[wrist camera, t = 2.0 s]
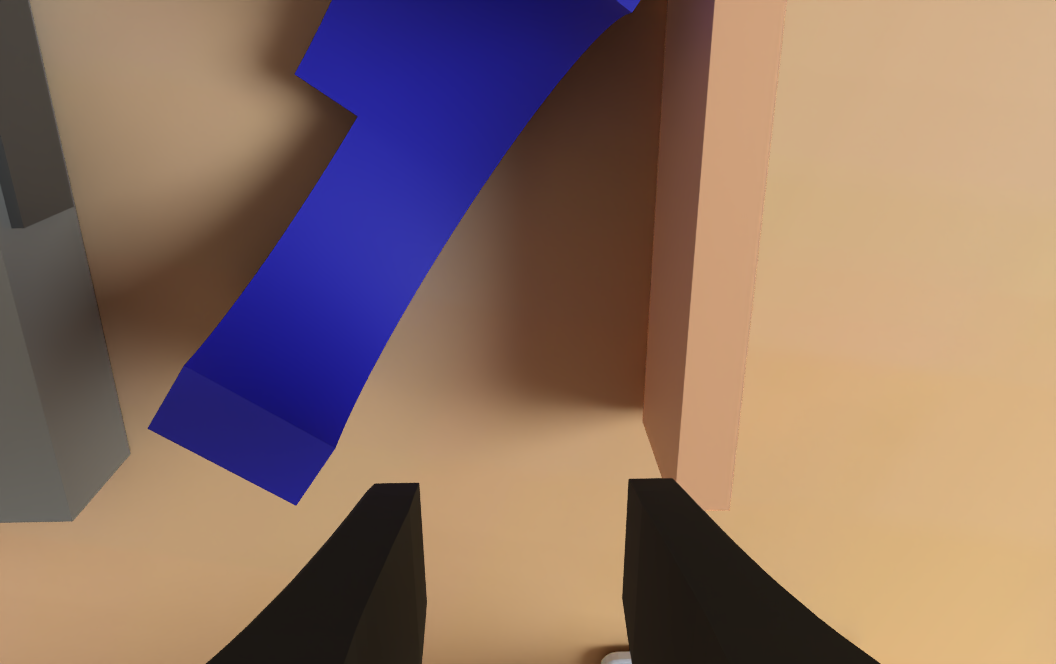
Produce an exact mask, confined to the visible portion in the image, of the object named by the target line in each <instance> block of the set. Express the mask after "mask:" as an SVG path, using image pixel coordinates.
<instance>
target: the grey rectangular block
mask: <svg viewBox="0 0 1056 664" xmlns="http://www.w3.org/2000/svg"><path fill="white" fill-rule="evenodd" d="M129 455H130V450H129V445H128V441H127V436H126V432H125V427H124V423H123V418H122V414H121V409H120V405H119V400H118V396H117V392H116V387H115V383H114V378H113V374H112V369H111V365H110V360H109V356H108V351H107V347H106V342H105V338H104V333H103V329H102V324H101V320H100V315H99V311H98V306H97V302H96V297H95V293H94V288H93V284H92V279H91V275H90V270H89V266H88V261H87V257H86V253H85V248H84V244H83V239H82V235H81V230H80V226H79V221H78V217H77V212H76V208H75V203H74V199H73V194H72V190H71V185H70V181H69V176H68V172H67V167H66V163H65V158H64V154H63V149H62V145H61V140H60V136H59V131H58V127H57V122H56V118H55V114H54V109H53V105H52V100H51V96H50V91H49V87H48V82H47V78H46V73H45V69H44V64H43V60H42V55H41V51H40V46H39V42H38V37H37V33H36V28H35V24H34V19H33V15H32V10H31V6H30V1H29V0H0V523H12V522H63V521H73V520H74V519H75V518H76V517H77V516H78V515H79V513H80V512H81V511H82V510H83V509H84V508H85V506H86V505H87V504H88V503H89V502H90V501H91V499H92V498H93V497H94V496H95V495H96V494H97V492H98V491H99V490H100V489H101V488H102V487H103V485H104V484H105V483H106V482H107V481H108V480H109V478H110V477H111V476H112V475H113V474H114V473H115V471H116V470H117V469H118V468H119V467H120V466H121V464H122V463H123V462H124V461H125V460H126V459H127V457H128V456H129Z"/></svg>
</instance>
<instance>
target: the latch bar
mask: <svg viewBox="0 0 1056 664" xmlns="http://www.w3.org/2000/svg"><path fill="white" fill-rule="evenodd" d="M786 4H787V0H668V2H667V19H666V36H665V52H664V69H663V86H662V103H661V120H660V137H659V154H658V170H657V187H656V204H655V221H654V238H653V255H652V271H651V288H650V305H649V322H648V339H647V356H646V372H645V389H644V406H643V424H644V427H645V430H646V433H647V436H648V438H649V441H650V444H651V447H652V450H653V453H654V456H655V459H656V462H657V464H658V467H659V470H660V473H661V476H662V478H673V479H674V480H675V481H676V482H677V483H678V484H679V485H680V486H681V487H682V488H683V489H684V490H685V491H686V492H687V493H688V494H689V495H690V497H691V498H692V499H693V500H694V501H695V502H696V503H697V504H698V505H699V506H700V507H701V508H702V509H703V510H704V511H725V510H730V503H731V494H732V486H733V477H734V468H735V459H736V450H737V441H738V432H739V423H740V414H741V405H742V396H743V388H744V379H745V370H746V361H747V352H748V343H749V334H750V325H751V316H752V307H753V298H754V289H755V281H756V272H757V263H758V254H759V245H760V236H761V227H762V218H763V209H764V200H765V191H766V183H767V174H768V165H769V156H770V147H771V138H772V129H773V120H774V111H775V102H776V93H777V84H778V76H779V67H780V58H781V49H782V40H783V31H784V22H785V13H786Z"/></svg>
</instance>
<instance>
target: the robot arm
mask: <svg viewBox="0 0 1056 664" xmlns="http://www.w3.org/2000/svg"><path fill="white" fill-rule="evenodd" d="M622 599H623V606H624V614H625V621H626V628H627V635H628V642H629V649H630V651H627V652H613V653H610V654H608V655H606V656H605V657H604V658H603V659H602V661H601V664H880V663H879V662H877V661H876V660H875V659H873V658H872V657H871V656H869V655H868V654H866V653H865V652H864V651H862V650H861V649H860V648H858V647H857V646H855V645H854V644H853V643H851V642H850V641H848V640H847V639H846V638H844V637H843V636H842V635H840V634H839V633H838V632H836V631H835V630H834V629H832V628H831V627H830V626H829V625H827V624H826V623H825V622H824V621H822V620H821V619H820V618H818V617H817V616H816V615H815V614H814V613H812V612H811V611H810V610H809V609H808V608H807V607H805V606H804V605H803V604H802V603H801V602H799V601H798V600H797V599H796V598H795V597H794V596H792V595H791V594H790V593H789V592H788V591H786V590H785V589H784V588H783V587H782V586H781V585H779V584H778V583H777V582H776V581H775V580H774V579H773V578H772V577H771V576H769V575H768V574H767V573H766V572H765V571H764V570H763V569H762V568H761V567H760V566H759V565H758V564H757V563H756V562H755V561H754V560H752V559H751V558H750V557H749V556H748V555H747V554H746V553H745V552H744V551H743V550H742V549H741V548H740V547H739V546H738V545H737V544H736V543H735V542H734V541H733V540H732V539H731V538H730V537H729V536H728V535H727V534H726V533H725V532H724V531H723V530H722V529H721V528H720V527H719V526H718V525H717V524H716V523H715V522H714V521H713V520H712V519H711V518H710V517H709V515H708V514H707V513H706V512H705V511H704V510H703V509H702V508H701V507H700V506H699V505H698V504H697V503H696V502H695V501H694V500H693V499H692V498H691V497H690V495H689V494H688V493H687V492H686V491H685V490H684V489H683V488H682V487H681V486H680V485H679V484H678V483H677V482H676V481H675V480H674V479H673V478H651V479H629V482H628V501H627V520H626V538H625V557H624V576H623V594H622ZM426 607H427V597H426V581H425V566H424V550H423V534H422V519H421V503H420V488H419V483H382V484H374V485H373V486H372V487H371V488H370V489H369V490H368V491H367V492H366V493H365V494H364V496H363V497H362V498H361V499H360V501H359V502H358V503H357V505H356V506H355V507H354V508H353V510H352V511H351V512H350V513H349V515H348V516H347V517H346V518H345V520H344V521H343V522H342V523H341V525H340V526H339V527H338V528H337V529H336V531H335V532H334V533H333V534H332V536H331V537H330V538H329V539H328V540H327V542H326V543H325V544H324V545H323V546H322V547H321V548H320V550H319V551H318V552H317V553H316V554H315V555H314V556H313V558H312V559H311V560H310V561H309V562H308V563H307V564H306V565H305V567H304V568H303V569H302V570H301V571H300V572H299V573H298V575H297V576H296V577H295V578H294V579H293V580H292V581H291V582H290V583H289V584H288V585H287V586H286V587H285V588H284V589H283V590H282V592H281V593H280V594H279V595H278V596H277V597H276V598H275V599H274V600H273V601H272V602H271V603H270V604H269V605H268V606H267V607H266V608H265V609H264V610H263V611H262V612H261V613H260V614H259V615H258V616H257V617H256V618H255V619H254V620H253V621H252V622H251V623H250V624H249V625H248V626H247V627H246V628H245V629H244V630H243V631H242V632H240V633H239V634H238V635H237V636H236V637H235V638H234V639H233V640H232V641H231V642H230V643H229V644H228V645H227V646H225V647H224V648H223V649H222V650H221V651H220V652H219V653H218V654H216V655H215V656H214V657H213V658H212V659H211V660H210V661H208V662H207V663H206V664H422V655H423V644H424V632H425V619H426Z"/></svg>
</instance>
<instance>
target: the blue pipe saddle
mask: <svg viewBox="0 0 1056 664" xmlns="http://www.w3.org/2000/svg"><path fill="white" fill-rule="evenodd" d="M639 2H640V0H332V1H331V3H330V5H329V7H328V9H327V12H326V14H325V16H324V18H323V20H322V22H321V24H320V26H319V28H318V30H317V32H316V34H315V36H314V38H313V40H312V42H311V44H310V46H309V48H308V50H307V52H306V54H305V56H304V57H303V59H302V61H301V63H300V65H299V67H298V69H297V71H296V72H295V75H296V76H298V77H299V78H301V79H302V80H304V81H305V82H307V83H308V84H310V85H311V86H313V87H314V88H316V89H317V90H319V91H320V92H322V93H323V94H325V95H326V96H328V97H329V98H331V99H332V100H334V101H335V102H337V103H338V104H340V105H341V106H343V107H344V108H346V109H347V110H349V111H350V112H352V113H353V114H355V115H356V116H358V117H357V119H356V120H355V122H354V124H353V125H352V127H351V129H350V130H349V132H348V134H347V135H346V137H345V139H344V140H343V142H342V144H341V145H340V147H339V148H338V150H337V152H336V153H335V155H334V157H333V158H332V160H331V161H330V163H329V165H328V166H327V168H326V169H325V171H324V173H323V174H322V176H321V177H320V179H319V181H318V182H317V184H316V185H315V187H314V188H313V190H312V192H311V193H310V195H309V196H308V198H307V199H306V201H305V202H304V204H303V205H302V207H301V209H300V210H299V212H298V213H297V215H296V216H295V218H294V219H293V221H292V222H291V224H290V225H289V227H288V228H287V230H286V231H285V233H284V234H283V236H282V237H281V239H280V240H279V242H278V243H277V244H276V246H275V247H274V249H273V250H272V252H271V253H270V255H269V256H268V258H267V259H266V260H265V262H264V263H263V265H262V266H261V267H260V269H259V270H258V272H257V273H256V275H255V276H254V277H253V279H252V280H251V282H250V283H249V284H248V286H247V287H246V288H245V290H244V291H243V293H242V294H241V295H240V297H239V298H238V299H237V301H236V302H235V303H234V305H233V306H232V307H231V309H230V310H229V311H228V313H227V314H226V315H225V317H224V318H223V319H222V320H221V322H220V323H219V324H218V326H217V327H216V328H215V329H214V331H213V332H212V333H211V334H210V336H209V337H208V338H207V339H206V341H205V342H204V343H203V344H202V345H201V347H200V348H199V349H198V350H197V351H196V353H195V354H194V355H193V356H192V357H191V358H190V359H189V361H188V362H187V363H186V364H185V365H184V366H183V368H182V370H181V372H180V373H179V375H178V377H177V379H176V380H175V382H174V384H173V385H172V387H171V389H170V391H169V392H168V394H167V396H166V398H165V399H164V401H163V403H162V405H161V406H160V408H159V410H158V411H157V413H156V415H155V417H154V418H153V420H152V422H151V424H150V425H149V427H148V429H149V430H151V431H153V432H155V433H157V434H159V435H161V436H163V437H165V438H167V439H169V440H171V441H173V442H174V443H176V444H178V445H180V446H182V447H184V448H186V449H188V450H190V451H192V452H194V453H196V454H198V455H200V456H201V457H203V458H205V459H207V460H209V461H211V462H213V463H215V464H217V465H219V466H221V467H223V468H225V469H226V470H228V471H230V472H232V473H234V474H236V475H238V476H240V477H242V478H244V479H246V480H248V481H250V482H252V483H253V484H255V485H257V486H259V487H261V488H263V489H265V490H267V491H269V492H271V493H273V494H275V495H277V496H279V497H280V498H282V499H284V500H286V501H288V502H290V503H292V504H294V505H297V504H298V502H299V501H300V499H301V498H302V496H303V495H304V493H305V492H306V490H307V489H308V488H309V486H310V485H311V483H312V482H313V480H314V479H315V477H316V476H317V474H318V473H319V471H320V470H321V468H322V467H323V466H324V464H325V463H326V461H327V460H328V458H329V457H330V455H331V454H332V452H333V451H334V449H335V448H336V445H337V443H338V440H339V438H340V435H341V433H342V431H343V429H344V426H345V424H346V422H347V420H348V417H349V415H350V413H351V411H352V409H353V407H354V405H355V403H356V401H357V399H358V397H359V395H360V393H361V391H362V389H363V387H364V385H365V383H366V381H367V379H368V377H369V375H370V373H371V371H372V369H373V367H374V365H375V364H376V362H377V360H378V358H379V356H380V354H381V352H382V350H383V349H384V347H385V345H386V343H387V341H388V340H389V338H390V336H391V334H392V332H393V331H394V329H395V327H396V325H397V324H398V322H399V320H400V318H401V317H402V315H403V313H404V311H405V310H406V308H407V306H408V305H409V303H410V301H411V299H412V298H413V296H414V294H415V293H416V291H417V289H418V288H419V286H420V284H421V283H422V281H423V279H424V278H425V276H426V274H427V273H428V271H429V269H430V268H431V266H432V265H433V263H434V261H435V260H436V258H437V256H438V255H439V253H440V252H441V250H442V248H443V247H444V245H445V244H446V242H447V241H448V239H449V237H450V236H451V234H452V233H453V231H454V230H455V228H456V226H457V225H458V223H459V222H460V220H461V219H462V217H463V216H464V214H465V213H466V211H467V210H468V208H469V206H470V205H471V203H472V202H473V200H474V199H475V197H476V196H477V194H478V193H479V191H480V190H481V188H482V187H483V185H484V184H485V183H486V181H487V180H488V178H489V177H490V175H491V174H492V172H493V171H494V169H495V168H496V166H497V165H498V164H499V162H500V161H501V159H502V158H503V156H504V155H505V154H506V152H507V151H508V149H509V148H510V147H511V145H512V144H513V142H514V141H515V140H516V138H517V137H518V135H519V134H520V133H521V131H522V130H523V128H524V127H525V126H526V124H527V123H528V122H529V120H530V119H531V118H532V116H533V115H534V114H535V112H536V111H537V110H538V108H539V107H540V106H541V104H542V103H543V102H544V100H545V99H546V98H547V97H548V95H549V94H550V93H551V91H552V90H553V89H554V88H555V86H556V85H557V84H558V83H559V81H560V80H561V79H562V78H563V76H564V75H565V74H566V73H567V72H568V70H569V69H570V68H571V67H572V66H573V64H574V63H575V62H576V61H577V60H578V59H579V57H580V56H581V55H582V54H583V53H584V52H585V51H586V50H587V49H588V47H589V46H590V45H591V44H592V43H593V42H594V41H595V40H596V39H597V38H598V37H599V36H600V35H601V34H602V33H603V32H604V31H605V30H606V29H607V28H608V27H609V26H611V25H612V24H613V23H614V22H616V21H617V20H618V19H619V18H621V17H623V16H624V15H626V14H629V13H632V12H633V11H634V9H635V8H636V6H637V5H638V3H639Z"/></svg>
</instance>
